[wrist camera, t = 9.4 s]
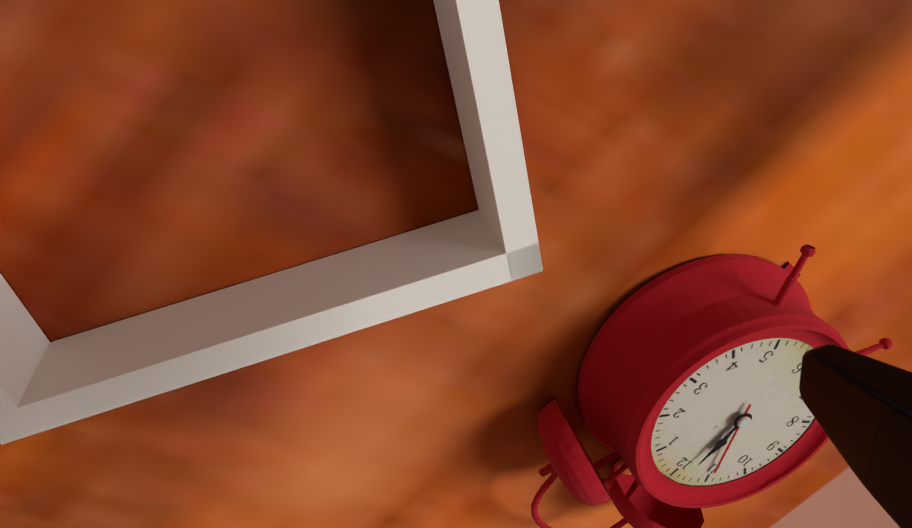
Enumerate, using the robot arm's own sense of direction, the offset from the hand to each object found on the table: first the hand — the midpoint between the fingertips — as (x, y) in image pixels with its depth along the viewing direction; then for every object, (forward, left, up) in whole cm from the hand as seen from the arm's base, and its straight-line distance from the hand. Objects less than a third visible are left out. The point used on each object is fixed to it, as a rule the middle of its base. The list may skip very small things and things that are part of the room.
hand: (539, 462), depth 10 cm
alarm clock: (+8, -13, -12) cm, 20 cm away
